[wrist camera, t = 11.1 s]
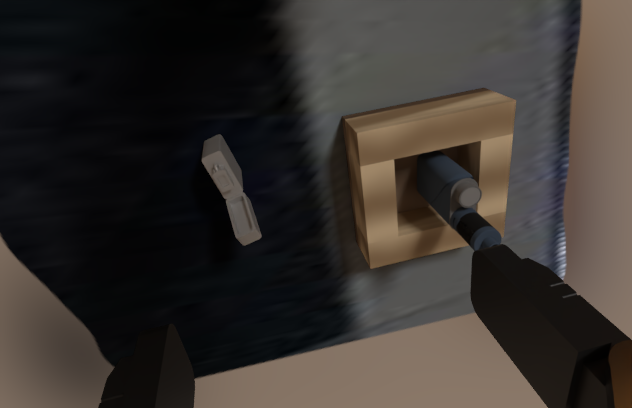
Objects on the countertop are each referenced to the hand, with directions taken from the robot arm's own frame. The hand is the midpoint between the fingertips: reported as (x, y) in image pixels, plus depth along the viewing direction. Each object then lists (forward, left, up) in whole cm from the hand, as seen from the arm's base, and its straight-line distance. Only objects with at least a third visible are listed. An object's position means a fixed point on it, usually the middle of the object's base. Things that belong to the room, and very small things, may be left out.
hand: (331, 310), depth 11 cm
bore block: (+11, +14, -28) cm, 33 cm away
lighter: (+7, -4, -28) cm, 29 cm away
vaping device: (+11, +15, -27) cm, 33 cm away
